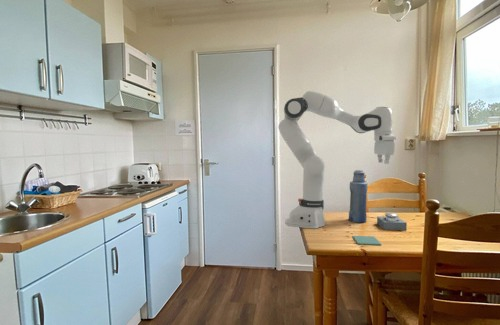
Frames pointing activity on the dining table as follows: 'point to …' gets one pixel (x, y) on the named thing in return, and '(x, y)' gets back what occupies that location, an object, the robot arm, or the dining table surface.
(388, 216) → the end cover
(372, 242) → the mat
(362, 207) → the bottle
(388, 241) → the dining table surface
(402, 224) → the housing
